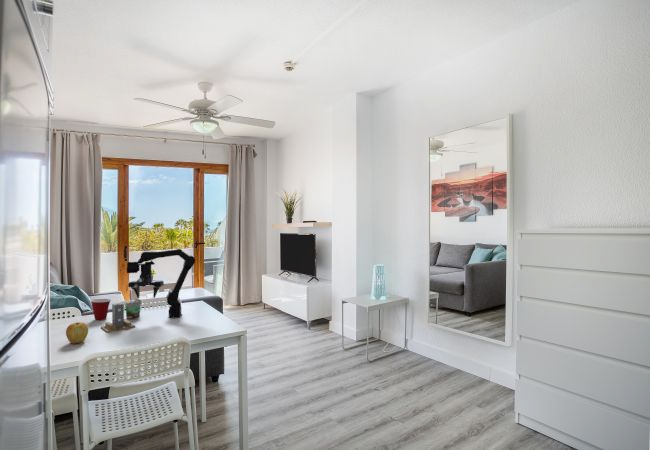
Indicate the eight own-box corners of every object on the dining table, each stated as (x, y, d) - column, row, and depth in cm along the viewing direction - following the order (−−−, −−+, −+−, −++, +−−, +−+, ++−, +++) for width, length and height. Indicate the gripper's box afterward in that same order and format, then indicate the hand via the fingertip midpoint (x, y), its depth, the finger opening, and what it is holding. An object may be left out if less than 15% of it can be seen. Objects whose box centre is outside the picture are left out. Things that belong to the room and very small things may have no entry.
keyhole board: (127, 323, 216) (127, 318, 216) (135, 327, 208) (135, 321, 208) (100, 328, 206) (100, 322, 206) (107, 332, 198) (107, 327, 198)
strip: (121, 324, 210) (120, 302, 210) (123, 326, 207) (123, 303, 207) (112, 326, 207) (112, 303, 207) (115, 328, 204) (114, 304, 204)
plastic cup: (114, 318, 226) (114, 299, 226) (95, 322, 217) (95, 302, 217) (106, 316, 232) (106, 296, 232) (87, 319, 224) (87, 299, 224)
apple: (84, 338, 189) (84, 318, 189) (91, 342, 183) (90, 321, 183) (63, 343, 182) (63, 322, 182) (69, 347, 176) (69, 326, 176)
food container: (135, 320, 223) (135, 303, 223) (125, 320, 223) (124, 303, 223) (145, 314, 235) (145, 299, 235) (136, 314, 235) (135, 299, 235)
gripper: (123, 274, 215) (123, 301, 215) (156, 274, 216) (157, 300, 216) (132, 271, 226) (132, 297, 226) (163, 271, 227) (164, 296, 227)
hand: (146, 298), depth 223 cm, fingers open, 9 cm apart
